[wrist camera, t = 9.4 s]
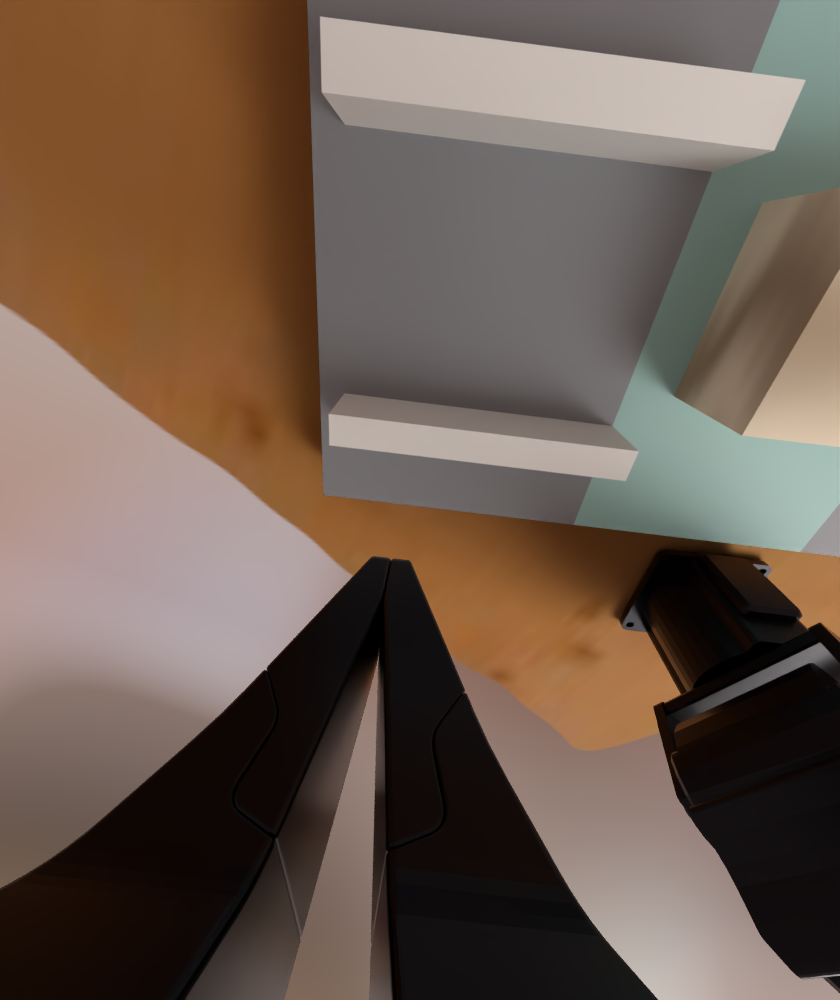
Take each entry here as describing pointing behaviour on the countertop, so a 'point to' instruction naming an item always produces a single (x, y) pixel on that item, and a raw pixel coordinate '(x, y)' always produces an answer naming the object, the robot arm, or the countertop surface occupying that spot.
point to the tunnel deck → (559, 253)
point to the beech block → (777, 329)
